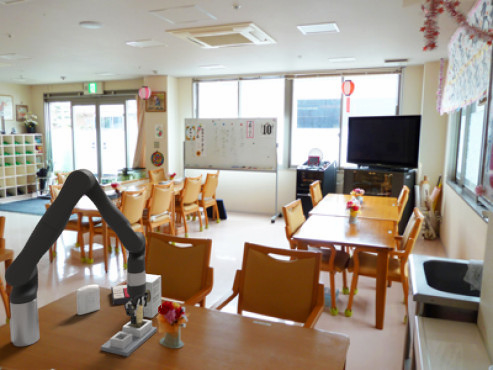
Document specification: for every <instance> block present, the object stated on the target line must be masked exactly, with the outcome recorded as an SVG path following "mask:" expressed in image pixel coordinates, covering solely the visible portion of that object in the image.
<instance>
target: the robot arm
mask: <svg viewBox="0 0 493 370" xmlns="http://www.w3.org/2000/svg"><path fill="white" fill-rule="evenodd" d="M84 196H86V197H87V198H88V199H89V200H90V201H91V202H92V204H93V205H94V206H95V207H96V209H97V211H98V213H99V215H100V216H101V218H102V219H103V221H104V222H105V224H106V225H107V226H108V227H109V228H110V229H111V230H112V231H113V232H114V233H115V234H116V236H117V238H118V239H119V242H120V243H121V245H122V246H123V247H124V249H125V250H126V251H127V252H128V255H127V256H128V257H127V260H126V270H127V271H126V285H127V294H128V295H129V302H128V303H123V307H124V311H125V314H126V317H130V321H131V324H134V325H135V324H136V323H137V320H136V312H137V310H138V306H139V305H140V304H142V305H143V319H144V318H145V317H144V309H145V307H146V306H147V302H148V295H149V292H146V274H147V273H146V260H145V257H146V256H145V255H146V249H147V248H146V245H147V244H146V243H147V242H146V236H145V235H144V233H142V232H141V231H135V230H134V229H133V227H132V226H131V225H132V224H131V222H130V220H129V219H128V218H127V216H125V214H124V213H123V212H122V211H121V210H120V209H119V208H118V207H117V205H116V204H115V203H114V202H113V201H112V200H111V198H110V197H109V195H108V194H107V193H106V191H105V190H104V188H103V187H102V186H101V184H100V183H99V180H98V179H97V177H96V176H95V174H94V172H92V171H91V170H90V169H87V168H79V169H75V170H73V171H71V172H69V174H68V175H67V176H66V179H65V180H64V182H63V185H62V187H61V189H60V190H59V192H58V194H57V196H56V198H55V199H54V200H53V202H52V203H51V204H50V205H49V207H48V208H47V209H46V211H45V212H44V214H42V216H41V218H40V219H39V221H38V222H37V224H36V225H35V227H34V228H33V230H32V232H31V234H30V235H29V237H28V239H27V241H26V242H25V244H24V245H23V248H22V249H21V251H20V252H19V253H18V255H17V256H16V258H14V260H13V261H12V262H11V263H10V265H9V266H8V267H6V270H5V272H4V281H5V282H6V283H7V285H9V287H12V288H11V291H10V294H9V307H10V318H9V328H10V330H9V331H10V341H11V343H12V344H13V346H15V347H26V346H30V345H33V344H35V343H36V342H38V341H39V340H40V336H41V335H40V320H39V307H38V290H39V270H38V263H39V262H40V260H41V259H42V258H43V257H44V255H46V253H47V252H48V251H49V250H50V249H51V248H52V246H53V245H55V243H56V242H57V241H58V239H59V238H60V236H61V235H62V233H63V232H64V230H65V229H66V228H67V225H68V223H69V221H70V219H71V215H72V213H73V211H74V209H75V207H76V205H77V204H78V203H79V201H80V200H81V199H82V198H83V197H84ZM144 301H145V303H144ZM132 306H134V307H135V308H133V307H132ZM133 310H134V313H133Z"/></svg>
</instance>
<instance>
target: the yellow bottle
mask: <svg viewBox="0 0 493 370" xmlns="http://www.w3.org/2000/svg"><path fill="white" fill-rule="evenodd" d="M132 307H133V308H135V307H134V306H132ZM133 313H134V310H133ZM143 319H144V318H143V305H142V304H140V305H139V306H138V310H137V312H136V320H137V323H136V324H135V325H134V324H132V327H135V328H141V327H142V326H143Z"/></svg>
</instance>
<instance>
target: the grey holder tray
mask: <svg viewBox="0 0 493 370" xmlns="http://www.w3.org/2000/svg"><path fill="white" fill-rule="evenodd" d="M157 331H158V327H157V326H153V320H149V319H144V318H143V326H142V327H141V328H135V327H132V324H131V320H130V321H128V322H127V323H126V324H124V325H122V330H121V331H120V330H119V331H118V332H117V333H116V334H114V335H113V336H112V337H110V338H109V339H108V340H107V341H106V342H105V343H104V344H102V345H100V351H104V352H107V353H110V354H111V353H112V354H116V355H120V356H123V357H129V356H130V355H131V354H132V353H133V352H134V351H136V350H137V349H138V348H139V347H140V346H141V345H143V344H144V343H145V342H146V341H147V340H148V339H150V338H151V337H152V336H153V335H154V334H155V333H156V332H157Z"/></svg>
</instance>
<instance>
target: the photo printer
mask: <svg viewBox="0 0 493 370" xmlns="http://www.w3.org/2000/svg"><path fill="white" fill-rule="evenodd" d="M100 291H101V290H100V286H99V285H98V284H87V285H85V286H82V287H79V288H78V289H77V290H76V314H77V315H78V316H81V315H85V314H89V313H92V312H96V311H98V310H99V311H100V310H101V302H100V301H101V298H100V293H101V292H100Z"/></svg>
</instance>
